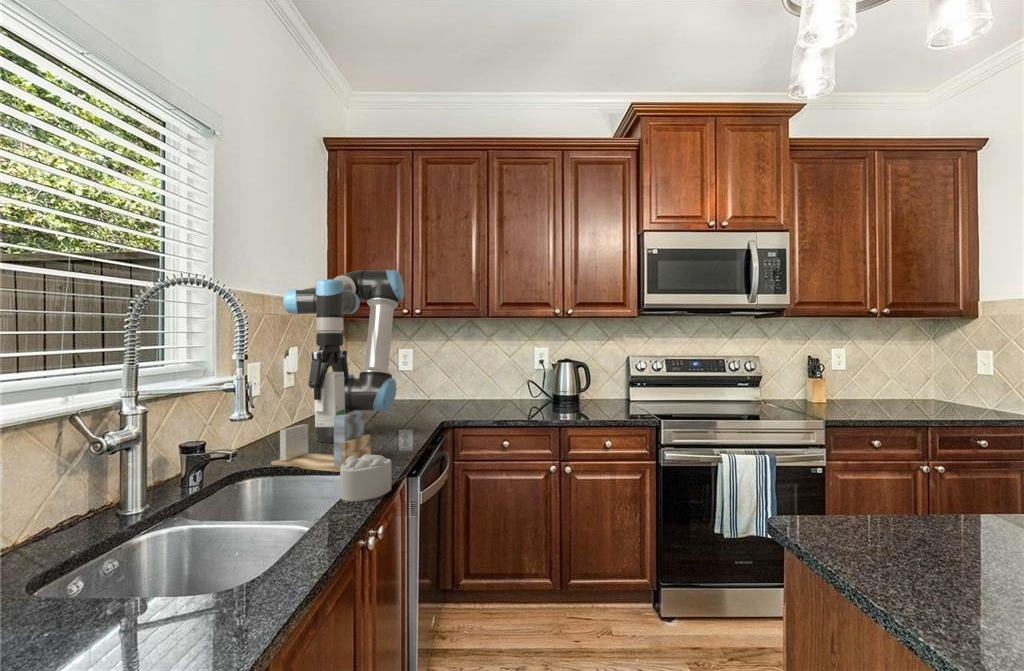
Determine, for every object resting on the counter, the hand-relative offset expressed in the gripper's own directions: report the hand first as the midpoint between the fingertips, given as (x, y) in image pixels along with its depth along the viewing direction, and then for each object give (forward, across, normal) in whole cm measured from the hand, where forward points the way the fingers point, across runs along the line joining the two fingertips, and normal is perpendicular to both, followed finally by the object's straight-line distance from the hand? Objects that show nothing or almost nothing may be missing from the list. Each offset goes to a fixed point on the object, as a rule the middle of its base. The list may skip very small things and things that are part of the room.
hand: (329, 408), depth 155 cm
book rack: (+16, 0, -3) cm, 17 cm away
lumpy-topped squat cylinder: (+17, +21, +25) cm, 37 cm away
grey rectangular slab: (+15, 0, -12) cm, 20 cm away
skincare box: (+5, 0, 0) cm, 5 cm away
